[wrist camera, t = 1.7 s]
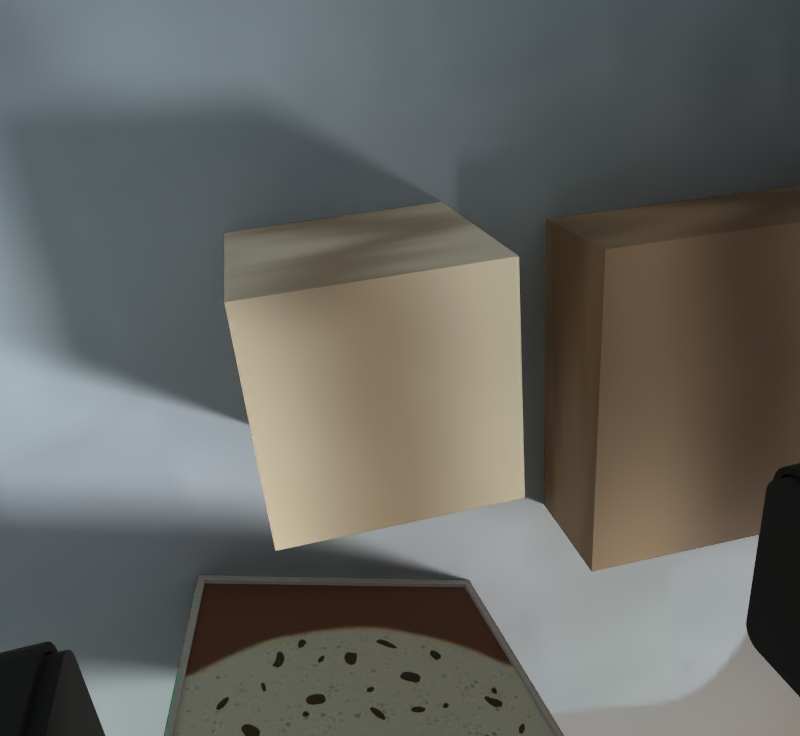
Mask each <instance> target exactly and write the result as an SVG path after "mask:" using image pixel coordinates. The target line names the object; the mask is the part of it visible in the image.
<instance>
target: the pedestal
mask: <svg viewBox="0 0 800 736" xmlns="http://www.w3.org/2000/svg"><path fill="white" fill-rule="evenodd" d="M798 463H800V186H793V187H785V188H778V189H770V190H762V191H755V192H747V193H740V194H732V195H724V196H717V197H709V198H701V199H694V200H686V201H679V202H671V203H663V204H656V205H648V206H640V207H633V208H625V209H618V210H610V211H602V212H595V213H587V214H579V215H572V216H564V217H557V218H549V219H546V308H545V429H544V505H545V506H546V508H547V509H548V511H549V512H550V513H551V515H552V516H553V518H554V519H555V520H556V522H557V523H558V525H559V526H560V527H561V529H562V530H563V532H564V533H565V534H566V536H567V537H568V539H569V540H570V542H571V543H572V544H573V546H574V547H575V549H576V550H577V551H578V553H579V554H580V556H581V557H582V558H583V560H584V561H585V563H586V564H587V565H588V567H589V568H590V570H591V571H596V570H601V569H605V568H610V567H614V566H619V565H623V564H628V563H632V562H637V561H641V560H646V559H650V558H655V557H659V556H664V555H668V554H673V553H677V552H682V551H686V550H691V549H696V548H700V547H705V546H709V545H714V544H718V543H723V542H727V541H732V540H736V539H741V538H745V537H750V536H754V535H759V534H760V527H761V521H762V514H763V507H764V500H765V494H766V489H767V485H768V484H769V483H770V481H773V478H774V475H775V473H776V472H777V471H778V469H780V468H782V467H785V466H789V465H793V464H798Z"/></svg>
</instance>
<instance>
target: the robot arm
mask: <svg viewBox="0 0 800 736" xmlns="http://www.w3.org/2000/svg"><path fill="white" fill-rule="evenodd" d="M746 627H747V632H748V635H749V637H750V640H751V642H752V644H753V645H754V647H755V648H756V649H757V651H758V652H759V653H760V654H761V655H762V656H763V657H764V658H765V659H766V660H767V662H768V663H769V664H770V665H771V666H772V667H773V668H774V669H775V670H776V671H777V672H778V674H779V675H780V676H781V677H782V678H783V679H784V680H785V681H786V682H787V683H788V684H789V686H790V687H791V688H792V689H793V690H794V691H795V692H796V693H797V694H798V695H799V697H800V463H798V464H793V465H789V466H785V467H782V468H780V469H778V471H777V472H776V473H775V475H774V478H773V481H770V483H769V484H768V485H767V489H766V494H765V500H764V507H763V514H762V521H761V527H760V534H759V541H758V547H757V554H756V561H755V568H754V574H753V581H752V588H751V594H750V601H749V608H748V615H747V623H746ZM0 736H105V734H104V731H103V729H102V726H101V723H100V721H99V718H98V716H97V713H96V710H95V708H94V705H93V703H92V700H91V697H90V695H89V692H88V689H87V687H86V684H85V682H84V679H83V676H82V674H81V671H80V669H79V666H78V663H77V661H76V658H75V656H74V654H73V652H72V651H71V650H65V651H61V652H58V651H57V649H56V647H55V646H54V645H53V644H52V643H51V642H44V643H40V644H35V645H31V646H27V647H23V648H18V649H14V650H10V651H6V652H2V653H0Z"/></svg>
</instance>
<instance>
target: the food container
mask: <svg viewBox="0 0 800 736" xmlns="http://www.w3.org/2000/svg"><path fill="white" fill-rule="evenodd" d="M164 736H564V735H563V733H562V732H561V730H560V728H559V727H558V725H557V723H556V722H555V720H554V718H553V717H552V715H551V714H550V712H549V710H548V709H547V707H546V705H545V704H544V702H543V700H542V699H541V697H540V696H539V694H538V692H537V691H536V689H535V687H534V686H533V684H532V682H531V681H530V679H529V678H528V676H527V674H526V673H525V671H524V669H523V668H522V666H521V664H520V663H519V661H518V660H517V658H516V656H515V655H514V653H513V651H512V650H511V648H510V646H509V645H508V643H507V642H506V640H505V638H504V637H503V635H502V633H501V632H500V630H499V628H498V627H497V625H496V624H495V622H494V620H493V619H492V617H491V615H490V614H489V612H488V610H487V609H486V607H485V606H484V604H483V602H482V601H481V599H480V597H479V596H478V594H477V592H476V591H475V589H474V588H473V586H472V584H471V583H470V581H469V580H435V579H382V578H330V577H277V576H225V575H198V578H197V583H196V588H195V592H194V597H193V602H192V606H191V611H190V616H189V620H188V625H187V630H186V634H185V639H184V644H183V648H182V653H181V658H180V662H179V667H178V672H177V676H176V681H175V686H174V690H173V695H172V700H171V704H170V709H169V714H168V718H167V723H166V728H165V732H164Z"/></svg>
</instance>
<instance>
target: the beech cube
mask: <svg viewBox="0 0 800 736" xmlns="http://www.w3.org/2000/svg"><path fill="white" fill-rule="evenodd" d="M224 304H225V309H226V313H227V318H228V323H229V328H230V333H231V338H232V343H233V347H234V352H235V357H236V362H237V367H238V372H239V377H240V381H241V386H242V391H243V396H244V401H245V406H246V411H247V415H248V420H249V425H250V430H251V435H252V440H253V445H254V449H255V454H256V459H257V464H258V469H259V474H260V479H261V483H262V488H263V493H264V498H265V503H266V508H267V513H268V517H269V522H270V527H271V532H272V537H273V542H274V547H275V551H278V550H283V549H287V548H292V547H297V546H302V545H306V544H311V543H316V542H320V541H325V540H330V539H334V538H339V537H344V536H348V535H353V534H358V533H362V532H367V531H372V530H376V529H381V528H386V527H390V526H395V525H400V524H404V523H409V522H414V521H418V520H423V519H428V518H432V517H437V516H442V515H447V514H451V513H456V512H461V511H465V510H470V509H475V508H479V507H484V506H489V505H493V504H498V503H503V502H507V501H512V500H517V499H521V498H525V480H524V439H523V398H522V356H521V315H520V274H519V256H518V255H517V254H515V253H514V252H513V251H511V250H510V249H508V248H507V247H505V246H504V245H503V244H501V243H500V242H498V241H497V240H495V239H494V238H493V237H491V236H490V235H488V234H487V233H485V232H484V231H483V230H481V229H480V228H478V227H477V226H476V225H474V224H473V223H471V222H470V221H468V220H467V219H466V218H464V217H463V216H461V215H460V214H458V213H457V212H456V211H454V210H453V209H451V208H450V207H448V206H447V205H446V204H444V203H443V202H436V203H429V204H422V205H415V206H408V207H401V208H394V209H387V210H380V211H373V212H366V213H359V214H352V215H345V216H338V217H331V218H324V219H317V220H310V221H303V222H296V223H289V224H282V225H275V226H268V227H261V228H254V229H247V230H240V231H233V232H226V233H224Z"/></svg>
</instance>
